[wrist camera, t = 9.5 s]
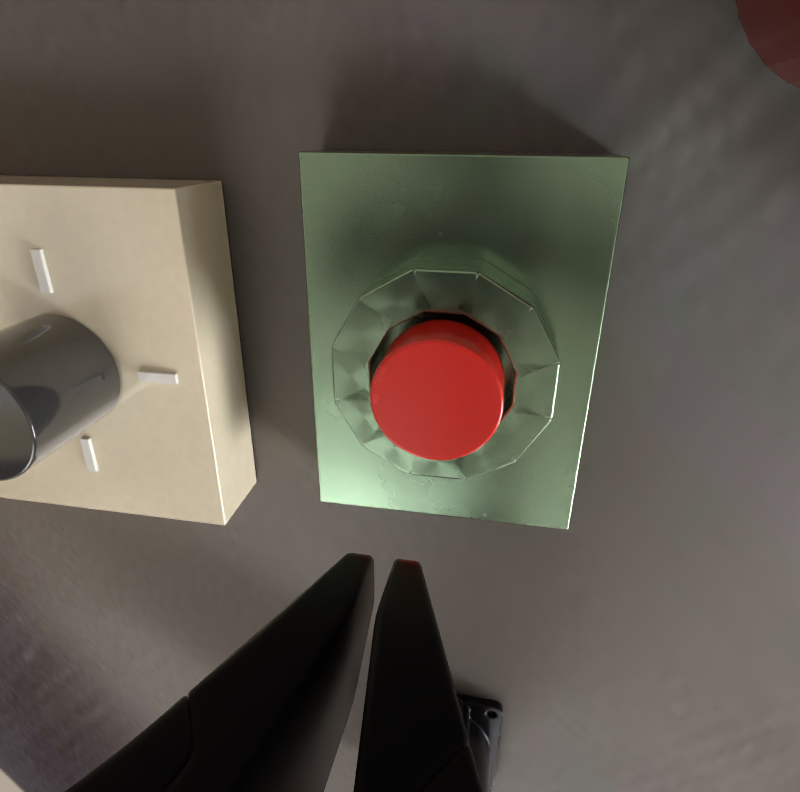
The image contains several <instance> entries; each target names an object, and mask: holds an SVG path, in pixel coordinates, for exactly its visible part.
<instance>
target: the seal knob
mask: <svg viewBox="0 0 800 792" xmlns="http://www.w3.org/2000/svg"><path fill="white" fill-rule="evenodd" d="M120 388H121V382H120V375H119V371H118V367H117V364H116V362H115V360H114V358H113V356H112V354H111V352H110V351H109V349H108V348H107V346H106V345H105V344H104V343H103V341H102V340H101V339H100V338H99V337H98V336H97V335H96V334H95V333H94V332H92V331H91V330H90V329H89V328H87V327H86V326H84V325H83V324H81V323H79V322H77V321H75V320H73V319H71V318H68V317H65V316H61V315H55V314H42V315H37V316H34V317H31V318H29V319H26V320H24V321H21V322H19V323H16V324H13V325H11V326H8V327H6V328H3V329H0V481H5V480H10V479H14V478H16V477H19V476H21V475H22V474H23V473H25V472H26V471H28V470H29V469H31V468H32V467H34V466H35V465H36V464H38V463H39V462H41V461H42V460H44V459H45V458H46V457H48V456H49V455H51V454H52V453H54V452H55V451H56V450H58V449H59V448H61V447H62V446H64V445H65V444H66V443H68V442H69V441H71V440H72V439H74V438H75V437H76V436H78V435H79V434H81V433H82V432H84V431H85V430H86V429H88V428H89V427H91V426H92V425H94V424H95V423H96V422H98V421H99V420H101V419H102V418H104V417H105V416H106V415H108V414H109V413H110V412H111V411H112V410H113V408H114V407H115V406H116V403H117V401H118V399H119V395H120Z"/></svg>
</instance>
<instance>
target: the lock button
mask: <svg viewBox="0 0 800 792" xmlns="http://www.w3.org/2000/svg"><path fill="white" fill-rule="evenodd" d="M370 403H371V408H372V412H373V415H374V418H375V420H376V422H377V424H378V426H379V428H380V429H381V430H382V432H383V433H384V434H385V436H386V437H387V438H388V439H389V440H390V441H391V442H392V443H394V444H395V445H396V446H398V447H399V448H400V449H402V450H404V451H406V452H408V453H409V454H412V455H414V456H417V457H421V458H424V459H430V460H450V459H456V458H460V457H463V456H466V455H468V454H470V453H472V452H474V451H476V450H477V449H479V448H480V447H481V446H483V445H484V444H485V443H486V442H487V441H488V440H489V439H490V438H491V437H492V436H493V434H494V433H495V431H496V430H497V428H498V426H499V424H500V421H501V418H502V415H503V409H504V369H503V365H502V361H501V359H500V357H499V354H498V353H497V351H496V349H495V348H494V346H493V345H492V344H491V343H490V341H489V340H488V339H487V338H486V337H485V336H484V335H482V334H481V333H480V332H478V331H477V330H475V329H473V328H472V327H470V326H467V325H465V324H462V323H459V322H455V321H450V320H431V321H426V322H422V323H419V324H416V325H414V326H412V327H410V328H408V329H407V330H405V331H404V332H402V333H401V334H400V335H399V336H398V337H397V338H396V339H395V340H394V341H393V342H392V344H391V345H390V346H389V348H388V350H387V352H386V354H385V355H384V357H383V359H382V361H381V362H380V364H379V366H378V368H377V370H376V372H375V373H374V376H373V379H372V383H371V388H370Z"/></svg>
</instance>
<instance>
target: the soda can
mask: <svg viewBox="0 0 800 792" xmlns="http://www.w3.org/2000/svg"><path fill="white" fill-rule="evenodd" d="M736 5H737V11H738V17H739V19H740V22H741V24H742V26H743V29H744V31H745V34H746V36H747V39H748V41H749V44H750V45H751V46H752V48H753V49H754V50H755V52H756V53H757V55H758V56H759V57H760V59H761V60H762V61H763V63H764V64H765V66H767V67H768V68H769V69H770V70H772V71H773V72H774V73H775V74H776V75H778V76H779V77H780V78H781V79H783V80H784V81H785V82H786V83H788V84H791V85H793V86H795V87H797V88H799V89H800V0H736Z"/></svg>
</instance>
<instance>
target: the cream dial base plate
mask: <svg viewBox="0 0 800 792" xmlns="http://www.w3.org/2000/svg"><path fill="white" fill-rule="evenodd" d="M42 314H55V315H61V316H65V317H68V318H71V319H73V320H75V321H77V322H79V323H81V324H83V325H84V326H86V327H87V328H89V329H90V330H91V331H92V332H94V333H95V334H96V335H97V336H98V337H99V338H100V339H101V340H102V341H103V343H104V344H105V345H106V346H107V348H108V349H109V351H110V352H111V354H112V356H113V358H114V360H115V362H116V364H117V367H118V371H119V375H120V382H121V388H120V395H119V399H118V401H117V403H116V406H115V407H114V408H113V410H112V411H111V412H110V413H109V414H108V415H106V416H105V417H104V418H102V419H101V420H99V421H98V422H96V423H95V424H94V425H92V426H91V427H89V428H88V429H86V430H85V431H84V432H82V433H81V434H79V435H78V436H76V437H75V438H74V439H72V440H71V441H69V442H68V443H66V444H65V445H64V446H62V447H61V448H59V449H58V450H56V451H55V452H54V453H52V454H51V455H49V456H48V457H46V458H45V459H44V460H42V461H41V462H39V463H38V464H36V465H35V466H34V467H32V468H31V469H29V470H28V471H26V472H25V473H23V474H22V475H21V476H19V477H16V478H14V479H10V480H5V481H0V497H2V498H10V499H18V500H26V501H34V502H42V503H50V504H58V505H66V506H74V507H82V508H90V509H98V510H106V511H114V512H122V513H130V514H138V515H146V516H154V517H163V518H171V519H179V520H187V521H195V522H203V523H211V524H219V525H226V523H227V522H228V521H229V519H230V518H231V516H232V515H233V514H234V512H235V511H236V510H237V508H238V507H239V505H240V504H241V503H242V501H243V500H244V499H245V497H246V496H247V494H248V493H249V492H250V490H251V489H252V488H253V486H254V485H255V483H256V473H255V464H254V456H253V447H252V439H251V430H250V422H249V413H248V404H247V396H246V387H245V379H244V370H243V362H242V353H241V344H240V336H239V327H238V319H237V310H236V302H235V293H234V284H233V276H232V267H231V259H230V250H229V242H228V233H227V224H226V216H225V207H224V199H223V190H222V182H221V181H208V180H167V179H126V178H85V177H44V176H2V175H0V329H3V328H6V327H8V326H11V325H13V324H16V323H19V322H21V321H24V320H26V319H29V318H31V317H34V316H37V315H42Z"/></svg>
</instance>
